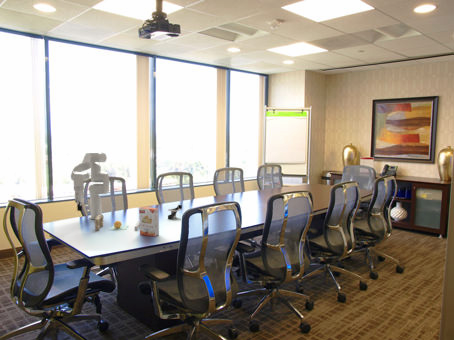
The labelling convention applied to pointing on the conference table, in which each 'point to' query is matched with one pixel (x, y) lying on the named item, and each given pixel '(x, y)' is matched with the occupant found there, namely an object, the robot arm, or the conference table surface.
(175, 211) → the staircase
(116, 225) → the ball
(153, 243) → the conference table surface
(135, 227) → the stopper
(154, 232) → the cracker box
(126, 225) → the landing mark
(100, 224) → the bridge
